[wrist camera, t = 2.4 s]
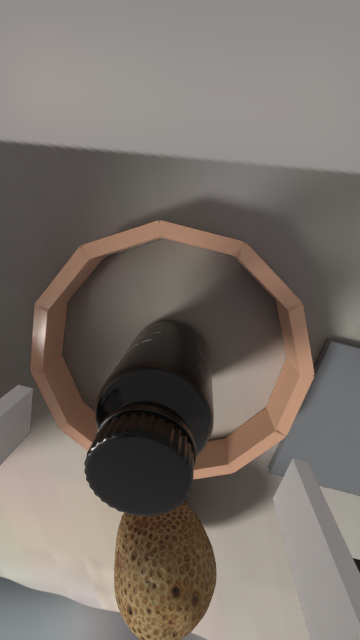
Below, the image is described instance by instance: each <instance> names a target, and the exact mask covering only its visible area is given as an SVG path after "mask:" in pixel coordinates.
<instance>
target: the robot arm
mask: <svg viewBox="0 0 360 640" xmlns="http://www.w3.org/2000/svg"><path fill="white" fill-rule="evenodd" d="M32 397H33V388H29V387H25V386H22V385H17V386H16V387H14V388H13V389H12V390H11V391H9V392H8V393H7V394H5V395H4V396H3V397H1V398H0V465H1V464H2V463H3V462H4V460H5V459H6V458H7V457H8V456H9V455H10V454H11V453H12V452H13V451H14V450H15V448H16V447H17V446H18V445H19V444H20V443H21V442H22V441H23V440H24V439H25V438H26V436H27V435H28V434H29V433H30V425H31V411H32ZM273 501H274V505H275V509H276V513H277V516H278V520H279V524H280V528H281V531H282V535H283V539H284V543H285V547H286V550H287V554H288V558H289V562H290V565H291V569H292V573H293V577H294V581H295V584H296V588H297V592H298V596H299V599H300V603H301V607H302V611H303V615H304V618H305V622H306V626H307V630H308V633H309V637H310V640H360V560H358V559H354V558H352V556H351V553H350V551H349V549H348V547H347V545H346V543H345V541H344V538H343V536H342V534H341V532H340V530H339V528H338V526H337V523H336V521H335V519H334V517H333V515H332V513H331V511H330V508H329V506H328V504H327V502H326V500H325V498H324V496H323V494H322V491H321V489H320V487H319V485H318V483H317V481H316V479H315V476H314V474H313V472H312V470H311V468H310V466H309V464H308V462H304V461H300V460H297V459H292V461H291V463H290V465H289V467H288V469H287V471H286V473H285V475H284V477H283V479H282V481H281V483H280V485H279V487H278V489H277V491H276V493H275V495H274V497H273Z"/></svg>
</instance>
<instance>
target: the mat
mask: <svg viewBox="0 0 360 640" xmlns="http://www.w3.org/2000/svg"><path fill="white" fill-rule="evenodd" d="M314 374H315V375H314V379H313V381H312V383H311V385H310V387H309V389H308V391H307V394H306V396H305V398H304V400H303V402H302V404H301V407H300V409H299V411H298V413H297V415H296V417H295V419H294V422H293V424H292V426H291V428H290V430H289V432H288V435H287V436H286V437H285V438H284V439H282V440H281V441H280V444H279V446H278V448H277V450H276V452H275V455H274V457H273V459H272V461H271V463H270V465H269V471H270V473H273V474H277V475H281V476H284V475H285V473H286V471H287V469H288V467H289V465H290V463H291V461H292V459H297V460H300V461H304V462H308V464H309V466H310V468H311V470H312V472H313V474H314V476H315V479H316V481H317V483H318V485H319V486H323V487H327V488H331V489H335V490H339V491H343V492H347V493H351V494H355V495H358V496H360V347H358V346H354V345H350V344H346V343H342V342H338V341H334V340H331V339H327V341H326V343H325V345H324V348H323V350H322V352H321V354H320V356H319V359H318V361H317V363H316V365H315V367H314Z"/></svg>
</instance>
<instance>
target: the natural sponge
mask: <svg viewBox="0 0 360 640" xmlns="http://www.w3.org/2000/svg"><path fill="white" fill-rule="evenodd" d="M114 584H115V596H116V601H117V605H118V608H119V611H120V613H121V615H122V617H123V619H124V621H125V622H126V624H127V625H128V627H129V628H130V629H131V631H132V632H133V633H134V634H135V635H136V636H137V637H138V639H140V640H181V639H183V638H184V637H185V636H186V635H188V634H189V633H191V631H192V630H193V629H194V628H195V627H196V626H197V624H198V623H199V622H200V621H201V619H202V618H203V616H204V615H205V613H206V611H207V609H208V607H209V604H210V602H211V599H212V596H213V593H214V589H215V584H216V562H215V557H214V553H213V549H212V546H211V543H210V541H209V538H208V536H207V534H206V532H205V529H204V527H203V526H202V524H201V522H200V520H199V518H198V517H197V515H196V514H195V512H194V511H193V509H192V508H191V507H190V506H189V505H188V504H187V503H186V502H185V501H183V503H182V505H180V506H177V507H176V509H175V510H171V511H169V512H168V513H165V514H160V515H158V516H153V515H152V516H149V517H147V516H136V515H132V514H127V513H125V512H124V514H123V516H122V518H121V521H120V524H119V528H118V532H117V539H116V551H115V567H114Z"/></svg>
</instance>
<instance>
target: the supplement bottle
mask: <svg viewBox="0 0 360 640" xmlns="http://www.w3.org/2000/svg"><path fill="white" fill-rule="evenodd" d="M213 420H214V412H213V394H212V375H211V360H210V352H209V349H208V346H207V343H206V342H205V340H204V338H203V337H202V336H201V335H200V334H199V333H198V332H197V331H196V330H195V329H194V328H192V327H190V326H189V325H187V324H184V323H181V322H177V321H161V322H157V323H154V324H152V325H150V326H148V327H146V328H145V329H144V330H143V331H142V332H141V333H140V334H139V335H138V336H137V337H136V339H135V340H134V341H133V343H132V344H131V346H130V347H129V349H128V350H127V352H126V353H125V355H124V356H123V358H122V359H121V360H120V362H119V363H118V365H117V366H116V368H115V369H114V371H113V372H112V374H111V375H110V377H109V378H108V380H107V381H106V383H105V384H104V386H103V388H102V389H101V391H100V393H99V395H98V398H97V401H96V406H95V421H96V427H97V430H98V431H97V433H96V436H95V439H94V441H93V443H92V445H91V446H90V448H89V450H88V452H87V458H86V460H85V467H86V468H85V471H84V472H85V474H86V476H87V477H86V480H87V481H88V483H89V486H90V488H91V489H92V490H93V491H94V493H95V495H96V496H98V497H99V498H100V499H101V500H102V501H103V502H105V503H107V504H108V505H109V506H110V507H112V508H115V509H117V510H118V511H121V512H125V513H127V514H132V515H136V516H147V517H149V516H152V515H153V516H158V515H160V514H165V513H168V512H169V511H171V510H175V509H176V507H177V506H180V505H182V503H183V501H184V500H186V499H187V497H188V493H189V492H190V491H191V488H192V482H193V473H194V466H195V462H196V457H197V456H198V455H199V454H200V453H201V452H202V451H203V449H204V448H205V447H206V445H207V443H208V441H209V439H210V437H211V434H212V430H213Z"/></svg>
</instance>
